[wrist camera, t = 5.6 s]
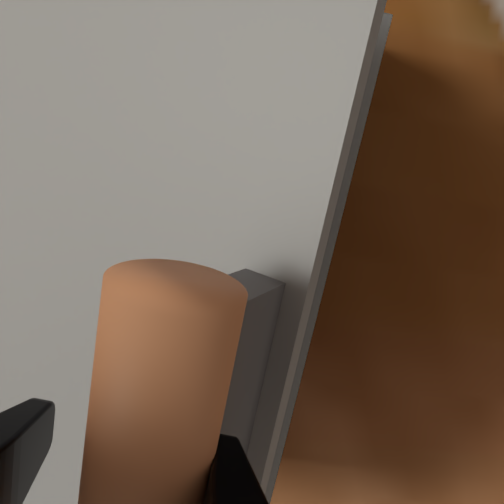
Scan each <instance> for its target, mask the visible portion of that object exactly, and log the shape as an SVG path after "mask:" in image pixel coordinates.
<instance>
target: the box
mask: <svg viewBox="0 0 504 504" xmlns="http://www.w3.org/2000/svg"><path fill="white" fill-rule="evenodd" d="M392 16H393V15H392V14H388V13H383V17H382V21H381V25H380V29H379V34H378V38H377V42H376V46H375V50H374V54H373V58H372V62H371V66H370V70H369V74H368V78H367V82H366V86H365V90H364V94H363V98H362V103H361V107H360V111H359V115H358V119H357V123H356V127H355V131H354V135H353V139H352V143H351V147H350V151H349V155H348V159H347V163H346V168H345V172H344V176H343V180H342V184H341V188H340V192H339V196H338V200H337V204H336V208H335V212H334V216H333V220H332V224H331V228H330V232H329V237H328V241H327V245H326V249H325V253H324V257H323V261H322V265H321V269H320V273H319V277H318V281H317V285H316V289H315V293H314V297H313V301H312V306H311V310H310V314H309V318H308V322H307V326H306V330H305V334H304V338H303V342H302V346H301V350H300V354H299V358H298V362H297V366H296V371H295V375H294V379H293V383H292V387H291V391H290V395H289V399H288V403H287V407H286V411H285V415H284V419H283V423H282V427H281V431H280V435H279V440H278V444H277V448H276V452H275V456H274V460H273V464H272V468H271V472H270V476H269V480H268V484H267V488H266V492H265V497H266V499H267V501H268V503H269V504H270V501H271V497H272V493H273V489H274V485H275V481H276V477H277V473H278V469H279V465H280V461H281V457H282V453H283V449H284V445H285V441H286V437H287V433H288V429H289V425H290V421H291V418H292V414H293V410H294V406H295V402H296V398H297V394H298V390H299V386H300V382H301V378H302V374H303V370H304V366H305V362H306V358H307V354H308V350H309V346H310V342H311V338H312V334H313V330H314V326H315V322H316V318H317V314H318V310H319V306H320V302H321V298H322V294H323V290H324V286H325V282H326V278H327V274H328V270H329V266H330V262H331V258H332V254H333V251H334V247H335V243H336V239H337V235H338V231H339V227H340V223H341V219H342V215H343V211H344V207H345V203H346V199H347V195H348V191H349V187H350V183H351V179H352V175H353V171H354V167H355V163H356V159H357V155H358V151H359V147H360V143H361V139H362V135H363V131H364V127H365V123H366V119H367V115H368V111H369V107H370V103H371V99H372V95H373V91H374V87H375V83H376V80H377V76H378V72H379V68H380V64H381V60H382V56H383V52H384V48H385V44H386V40H387V36H388V32H389V28H390V24H391V20H392Z"/></svg>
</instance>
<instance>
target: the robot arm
mask: <svg viewBox="0 0 504 504" xmlns="http://www.w3.org/2000/svg"><path fill="white" fill-rule="evenodd" d="M54 419H55V404H54V402H53V401H50V400H44V399H39V398H31V399H28V400H26V401H24V402H22V403H20V404H17V405H15V406H13V407H11V408H9V409H7V410H4V411H2V412H0V504H23V502H24V500H25V498H26V496H27V494H28V492H29V490H30V488H31V486H32V484H33V482H34V480H35V478H36V476H37V474H38V472H39V470H40V468H41V466H42V464H43V462H44V460H45V458H46V456H47V454H48V452H49V449H50V447H51V444H52V439H53V430H54ZM203 504H269V503H268V501H267V499H266V497H265V494H264V492H263V490H262V488H261V486H260V484H259V482H258V479H257V477H256V475H255V473H254V471H253V469H252V466H251V464H250V462H249V460H248V458H247V456H246V454H245V451H244V449H243V447H242V445H241V443H240V441H239V439H238V438H237V437H235V436H230V435H225V434H220V436H219V440H218V445H217V450H216V454H215V456H214V459H213V461H212V464H211V469H210V474H209V479H208V483H207V488H206V493H205V498H204V502H203Z"/></svg>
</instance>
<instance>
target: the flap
mask: <svg viewBox="0 0 504 504" xmlns="http://www.w3.org/2000/svg"><path fill="white" fill-rule="evenodd" d="M386 1H387V0H0V412H2V411H4V410H7V409H9V408H11V407H13V406H15V405H17V404H20V403H22V402H24V401H26V400H28V399H31V398H39V399H44V400H50V401H53V402H54V404H55V419H54V430H53V439H52V444H51V447H50V449H49V452H48V454H47V456H46V458H45V460H44V462H43V464H42V466H41V468H40V470H39V472H38V474H37V476H36V478H35V480H34V482H33V484H32V486H31V488H30V490H29V492H28V494H27V496H26V498H25V500H24V502H23V504H203V502H204V498H205V493H206V488H207V483H208V479H209V474H210V469H211V464H212V461H213V459H214V456H215V454H216V450H217V445H218V440H219V436H220V434H225V435H230V436H235V437H237V438H238V439H239V441H240V443H241V445H242V447H243V449H244V451H245V454H246V456H247V458H248V460H249V462H250V464H251V466H252V469H253V471H254V473H255V475H256V477H257V479H258V482H259V484H260V486H261V488H262V490H263V492H264V494H265V492H266V488H267V484H268V480H269V476H270V472H271V468H272V464H273V460H274V456H275V452H276V448H277V444H278V440H279V435H280V431H281V427H282V423H283V419H284V415H285V411H286V407H287V403H288V399H289V395H290V391H291V387H292V383H293V379H294V375H295V371H296V366H297V362H298V358H299V354H300V350H301V346H302V342H303V338H304V334H305V330H306V326H307V322H308V318H309V314H310V310H311V306H312V301H313V297H314V293H315V289H316V285H317V281H318V277H319V273H320V269H321V265H322V261H323V257H324V253H325V249H326V245H327V241H328V237H329V232H330V228H331V224H332V220H333V216H334V212H335V208H336V204H337V200H338V196H339V192H340V188H341V184H342V180H343V176H344V172H345V168H346V163H347V159H348V155H349V151H350V147H351V143H352V139H353V135H354V131H355V127H356V123H357V119H358V115H359V111H360V107H361V103H362V98H363V94H364V90H365V86H366V82H367V78H368V74H369V70H370V66H371V62H372V58H373V54H374V50H375V46H376V42H377V38H378V34H379V29H380V25H381V21H382V17H383V13H384V9H385V5H386Z"/></svg>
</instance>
